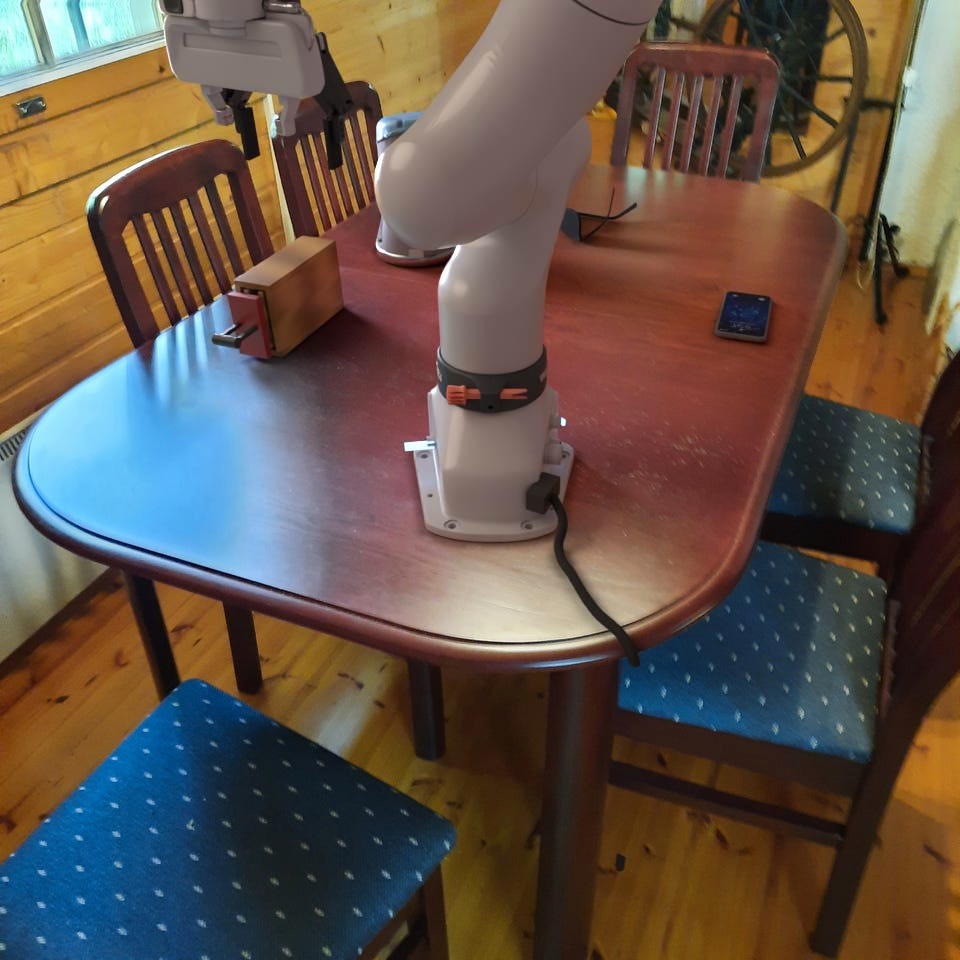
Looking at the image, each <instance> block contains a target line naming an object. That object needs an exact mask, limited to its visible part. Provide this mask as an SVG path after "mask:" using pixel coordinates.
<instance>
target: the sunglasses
mask: <svg viewBox="0 0 960 960" xmlns="http://www.w3.org/2000/svg"><path fill="white" fill-rule="evenodd" d="M615 189H616V187H613V188H612V193H611V199H610V203H609V208H608V213H607V215H606V216H605V215H598V214H592V213H587V212H580V211H576V210H575V209H573V208H571V207H567V208H566V211H565V214H564V217H563V220H562V223H561V227H560V230H561V232H562V233H563V234H565V235H566V236H567V237H569V238H570V239H573V240H574V241H577V242H583V241H586V240H588V239H589V238H591V237H592V236H594V234H596V233H597V232H598V231H599V230H600V229H601V228H602V227H603V226H604V225H605V224H606V223H607V221H614V220H618V219H621V218H622V217H624V216H625V215H627V214H628V213H630V212H631V211H633V210H634V209H636V208H637V207H638V203H637V202H634V203H633V204H631V205H630V206H629V207H627V208H626V209H624V210H623V211H622V212H620V213H619V214H617V215H614V216H610V214H611V211H612V207H613V200H614V196H615ZM581 217H586V218H591V219H598V220H603V221H602V222H601V223H600V224H599V225H597V226H596V227H595V228H594V229H593V230H591V231H590V232H589V233H587V234H586V235H584V236H583V235H582V218H581Z"/></svg>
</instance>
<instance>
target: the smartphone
mask: <svg viewBox="0 0 960 960" xmlns="http://www.w3.org/2000/svg"><path fill="white" fill-rule="evenodd" d="M773 302H774V301H773V298H772V297H771V296H769V295H763V294H756V293H749V292H743V291H734V290H729V291H726V292H725V293H724V295H723V299H722V301H721V306H720V310H719V312H718V317H717V319H716V322H715V328H714V334H715V335H716V336H717V337H718V338H719V337H720V338H725V339H732V340H739V341H747V342H754V343H764V342H765V341H767V338H768V333H769V328H770V318H771V313H772V307H773Z"/></svg>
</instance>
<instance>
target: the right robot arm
mask: <svg viewBox="0 0 960 960" xmlns="http://www.w3.org/2000/svg"><path fill="white" fill-rule="evenodd" d="M663 2H664V0H500V1H499V3H498V5H497V8H496V9H495V11H494V14H493V16H492V18H491V19H490V21H489V23H487V26H486V27H485V30H484V31H483V33H482V34H481V36H480V37H479V38H478V40H477V42H476V43H475V44H474V46H473V47H472V48H471V49H470V51H469V52H468V54H467V55H466V56H465V58H464V59H463V61H462V62H461V63H460V64H459V66H458V67H457V69H456V70H455V71H454V72H453V73H452V75H451V76H450V77H449V78H448V80H447V82H446V83H445V84H444V85H443V86H442V88H441V89H440V90H439V92H438V93H437V95H436V96H435V97H434V99H432V101H431V102H430V104H429V105H428V106H427V108H426V109H425V110H423V111H424V112H423V114H422V115H421V116H420V117H419V118H418V119H417V121H416V122H415V123H414V124H413V125H412V126H411V127H410V128H409V129H408V130H407V131H406V132H404V133H403V134H402V135H401V136H400V137H399V138H398V139H397V140H395V141H394V142H393V143H392V144H391V145H390V146H388V147H387V148H386V149H385V150H384V151H383V153H382V154H381V156H380V158H379V159H378V160H377V163H376V166H375V170H374V179H373V181H374V183H373V189H374V196H375V202H376V205H377V209H378V211H379V213H380V215H381V217H382V218H383V219H384V221H385V223H386V224H387V226H388V227H389V229H390V230H391V231H392V232H393V233H394V234H395V235H396V236H397V237H398V238H399V239H400V240H401V241H402V242H404V243H405V244H407V245H408V246H410V247H412V248H415V249H418V250H424V251H428V250H436V249H443V248H449V247H454V246H457V247H456V249H455V251H454V253H453V255H452V257H451V259H450V260H449V261H447V262H446V265H445V267H444V268H443V270H442V273H441V275H440V277H439V281H438V285H437V305H438V306H437V307H438V327H439V342H440V343H439V344H440V345H439V346H438V348H437V354H436V356H437V358H436V363H435V364H436V376H437V384H436V385H435V387H434V386H433V388H432V389H431V390H430V391H428V392H427V406H428V407H427V409H428V424H429V435H426V436H425V438H424V440H423V441H421V440H420V441H410V442H404V451H405V452H409V451H413V454H412V455H413V457H412V458H413V464H414V470H415V475H416V476H415V477H416V480H417V487H418V492H419V498H420V499H419V500H420V503H421V504H420V505H421V510H422V516H423V522H424V526H425V529H426V530H427V531H428V532H429V533H432V534H434V535H437V536H440V537H443V538H448V539H452V540H457V541H466V542H477V543H478V542H480V543H500V542H501V543H502V542H503V543H506V542H518V541H527V540H531V539H536V538H539V537H543V536H546V535H548V534H550V533H552V532H554V531H556V533H555V536H554V539H553V553H554V556H555V559H556V561H557V563H558V565H559V567H560V568H561V570H562V571H563V573H564V574H565V575H566V577H567V579H568V580H569V582H570V584H571V586H572V588H573V589H574V592H576V594H577V596H578V597H579V599H580V600H581V602H582V603H583V605H584V607H585V608H586V609H587V610H588V613H590V614H591V616H592V617H593V618H594V619H595V620H596V621H597V622H598V623H600V624H601V625H602V626H603V627H604V628H605V629H607V631H609V632H610V633H611V634H612V635H613V636H614V637H615V638H616V639H617V641H618V643H620V645H621V647H622V649H623V651H624V653H625V656H626V658H627V661H628V664H629V665H630V666H631V667H633V668H639V667H640V666H641V660H640V657H639V654H638V651H637V648H636V646H635V645H634V643H633V641H632V638H631V637H630V636H629V634H628V633H627V631H626V630H625V629H624V628H623V627H622V626H621V625H620V624H619V623H618V622H617V621H616V620H614V618H613V617H611V616H609V615H608V614H607V613H606V612H605V611H604V610H603V609H602V608H601V607H600V606H599V605H598V604H597V601H595V600H594V598H593V597H592V595H591V594H590V593H589V591H588V589H587V588H586V586H585V585H584V583H583V581H582V579H581V578H580V576H579V574H578V573H577V571H576V570H575V568H574V566H573V565H572V564H571V563H570V561H569V560H568V558H567V556H566V553H565V548H564V546H565V539H566V536H567V533H568V529H569V519H568V514H567V510H566V509H565V506H564V505H563V504H564V500H565V497H566V492H567V488H568V483H569V480H570V476H571V472H572V469H573V468H572V467H573V464H574V459H575V450H574V447H573V446H571V445H570V444H568V443H566V442H563V441H561V439H560V438H558V430H560V429H561V428H562V426H563V427H564V426H566V419H565V418H564V417H562V416H559V392H557V391H556V390H555V389H554V388H553V387H552V386H551V385H550V384H549V383H548V382H547V379H548V367H549V361H548V356H547V355H548V354H547V353H548V351H547V347H546V345H545V344H544V330H545V329H544V326H545V307H546V306H545V305H546V292H547V291H546V289H547V281H548V275H549V271H550V270H549V269H550V267H551V262H552V258H553V254H554V250H555V247H556V243H557V240H558V237H559V234H560V233H559V232H560V230H561V229H560V227H561V223H562V220H563V217H564V214H565V211H566V208H568V205H569V202H570V200H571V197H572V195H573V193H574V191H575V189H576V187H577V186H578V183H579V182H580V180H581V179H582V177H583V175H584V174H585V173H586V171H587V169H588V166H589V164H590V161H591V158H592V152H593V138H592V132H591V128H590V125H589V122H588V120H587V117H586V115H587V114H588V113H590V112H591V111H592V110H593V109H594V108H595V107H596V106H597V105H598V104H599V103H600V101H601V100H602V99H603V97H604V96H605V95H606V92H607V91H608V90H609V88H610V86H611V84H612V83H613V81H614V80H615V78H616V77H617V75H618V74H619V72H620V70H621V69H622V67H623V65H624V64H625V63H626V62H627V59H628V58H629V56H630V55H631V53H632V51H633V50H634V48H635V47H636V45H637V44H638V42H639V40H640V38H641V37H642V36H643V34H644V32H645V31H646V29H647V28H648V26H649V24H650V23H651V21H652V20H653V18H654V17H655V15H656V14H657V12H658V10H659V8H660V7H661V5H662V3H663ZM157 4H158V9H159V11H160V12H161V13H162V14H163V15H165V18H164V20H163V35H164V42H165V46H166V52H167V57H168V60H169V65H170V68H171V71H172V73H173V74H174V76H175V77H176V79H177V80H178V81H179V82H181V83H187V84H193V85H200V86H199V87H200V90H201V95H202V97H203V98H204V100H205V101H206V103H207V104H208V106H209V108H210V109H211V111H212V113H213V119H214V123H215V125H216V126H221V127H222V126H223V127H229V126H232V125H234V124H235V123H234V117H233V110H232V108H230V107H229V106H228V105H226V104H225V102H224V100H223V98H222V96H221V94H220V92H221V91H223V89H222V88H229V89H236V90H243V91H251V92H253V93H259V94H266V95H273V96H277V100H278V105H279V106H282V108H281V109H282V110H281V112H280V113H281V114H280V117H278V118H275V119H274V126H275V133H276V134H277V135H279V136H284V137H291V136H293V135H295V134H296V129H297V128H296V122H295V121H296V120H295V118H296V115H297V112H298V110H299V107H300V105H301V100H303V99H304V100H305V99H308V98H313V96H315V95H317V94H319V93H321V91H322V89H323V87H324V84H325V79H324V72H323V67H322V61H321V57H320V52H319V48H318V44H317V40H316V37H315V34H316V33H315V28H314V27H315V26H314V21H313V18H312V16H311V15H310V13H309V12H308V11H307V10H306V9H305V8H303V7H302V4H301V5H300V4H299V3H296V2H281V1H277V0H157ZM284 12H286V13H284ZM300 12H302V14H299V13H300ZM626 860H627V857H626V856H625V855H623V854H620V853H618V852H616V856H615V865H614V868H615V870H616V871H617V872H623V871H624V870H625V869H626V868H625V867H626Z"/></svg>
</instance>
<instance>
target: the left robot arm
mask: <svg viewBox="0 0 960 960" xmlns="http://www.w3.org/2000/svg"><path fill="white" fill-rule="evenodd" d="M277 1H281V2H296V3H299V4H300V5H301V6H302V0H277ZM284 13H286V12H284ZM299 14H303V13H302V12H300V13H299ZM314 34H315V37H316V40H317V44H318V48H319V52H320V57H321V61H322V67H323V72H324V79H325V84H324V87H323V89H322V91H321V93H319V94H317V95H315V96H312V98H313V99H314V100H315V102H316V104H318V106H319V107H320V108H321V109H322V111H323V112H324V114H325V115H326V116H325V118H322V128H323V136H324V143H325V151H326V160H327V169H328V171H335V170H337V169H338V168H340V167H342V166H344V159H343V158H344V157H343V148H342V143H343V142H345V140H346V133H345V132H346V131H345V122H344V117H345V115H347V114H349V113H352V112H353V111H355V110H356V108H357V107H356V103H355V101H354V99H353V97H352V95H351V93H350V91H349V88H348V86H347V84H346V82H345V81H344V78H343V77H342V75H341V72H340V70H339V68H338V66H337V64H336V63H335V60H334V58H333V56H332V54H331V52H330V48H329V43H328V38H327V35H326V34H325V32H323V31H319V32H316V33H314ZM222 89H223V91H221V92H220V94H221V96H222V98H223V100H224V102H225V104H226V106H227V107H228V108H232V110H233V117H234V123H233V124H234V128H235V132H236V134H238V135H240V140H241V144H242V152H243V157H244V161H252V160H254V159H257V158H258V157H260V156H261V150H260V144H259V138H258V132H257V126H256V119H255V115H254V113H255V112H254V109H253V106H249V105H250V102H249V100H251V99H250V98H251V97H252V95H253V93H254V92H251V91H243V90H236V89H229V88H222ZM424 111H425V110H419V111H408V112H402V113H396V114H392V115H391V114H390V115H387V116H384V117H382V118H381V119H380V120H379V121H378V122H377V124H376V140H375V144H376V147H377V158H378V160H379V158H380V156H381V154H382V153H383V151H384V150H385V149H386V148H387V147H388V146H390V145H391V144H392V143H393V142H394V141H395V140H397V139H398V138H399V137H400V136H401V135H402V134H403V133H404V132H406V131H407V130H408V129H409V128H410V127H411V126H412V125H413V124H414V123H415V122H416V121H417V119H418V118H419V117H420V116H421V115H422V114H423V112H424ZM456 247H457V246H454V247H449V248H443V249H436V250H428V251H424V250H418V249H415V248H412V247H410V246H408V245H407V244H405V243H404V242H402V241H401V240H400V239H399V238H398V237H397V236H396V235H395V234H394V233H393V232H392V231H391V230H390V229H389V227H388V226H387V224H386V223H385V221H384V219H383V218H382V216H381V218H380V221H379V227H378V231H377V236H376V240H375V248H376V255H377V257H378V258H379V259H381V260H382V261H384V262H385V263H388V264H391V265H395V266H400V267H410V268H411V267H413V268H414V267H415V268H416V267H417V268H418V267H420V268H421V267H431V266H436V265H441V264H444V263H448V262H449V260H450V259H451V257H452V255H453V253H454V251H455V249H456Z"/></svg>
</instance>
